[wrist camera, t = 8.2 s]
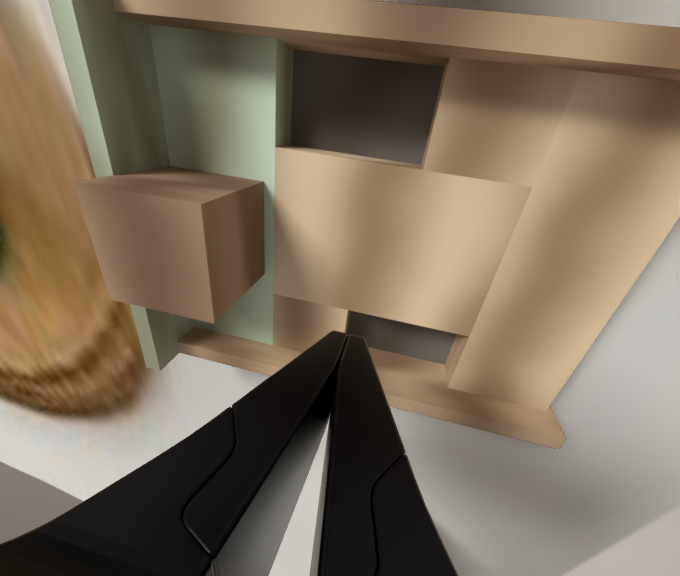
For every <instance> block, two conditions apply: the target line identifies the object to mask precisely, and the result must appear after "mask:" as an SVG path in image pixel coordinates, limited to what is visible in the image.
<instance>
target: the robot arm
mask: <svg viewBox="0 0 680 576" xmlns="http://www.w3.org/2000/svg"><path fill="white" fill-rule="evenodd" d="M329 417H330V420H329ZM328 421H329V427H328V434H327V442H326V450H325V457H324V465H323V473H322V481H321V489H320V497H319V505H318V513H317V521H316V528H315V536H314V544H313V552H312V560H311V568H310V576H458V574H457V572H456V570H455V568H454V566H453V564H452V562H451V559H450V557H449V555H448V553H447V551H446V549H445V547H444V545H443V543H442V540H441V538H440V536H439V534H438V532H437V529H436V527H435V525H434V523H433V520H432V518H431V516H430V514H429V512H428V509H427V507H426V505H425V502H424V500H423V497H422V495H421V492H420V489H419V487H418V484H417V482H416V479H415V477H414V474H413V471H412V468H411V465H410V463H409V460H408V457H407V455H405V449H404V446H403V444H402V441H401V438H400V435H399V432H398V430H397V427H396V424H395V421H394V418H393V416H392V413H391V410H390V407H389V404H388V402H387V399H386V396H385V393H384V390H383V388H382V385H381V382H380V379H379V376H378V373H377V371H376V368H375V365H374V362H373V359H372V357H371V354H370V351H369V348H368V345H367V343H366V340H365V338H364V337H361V336H357V335H353V334H350V335H349V336H348V334H347V333H344V332H340V331H335V330H333V331H331V332H329V333H328V334H327V335H325V336H324V337H323V338H321V339H320V340H319V341H317V342H316V343H315V344H313V345H312V346H311V347H309V348H308V349H307V350H305V351H304V352H303V353H301V354H300V355H299V356H297V357H296V358H295V359H293V360H292V361H291V362H289V363H288V364H287V365H285V366H284V367H282V368H281V369H280V370H278V371H277V372H276V373H274V374H273V375H272V376H270V377H269V378H268V379H266V380H265V381H264V382H262V383H261V384H260V385H258V386H257V387H256V388H254V389H253V390H252V391H250V392H249V393H248V394H246V395H245V396H244V397H242V398H241V399H240V400H238V401H237V402H236V403H234V404H233V405H232V408H231V407H229V408H227V409H226V410H225V411H223V412H222V413H221V414H219V415H218V416H217V417H215V418H214V419H212V420H211V421H210V422H208V423H207V424H205V425H204V426H203V427H201V428H200V429H198V430H197V431H195V432H194V433H193V434H191V435H190V436H188V437H187V438H185V439H184V440H182V441H181V442H179V443H177V444H176V445H174V446H173V447H171V448H170V449H168V450H167V451H165V452H163V453H162V454H160V455H159V456H157V457H156V458H154V459H152V460H151V461H149V462H147V463H146V464H144V465H142V466H141V467H139V468H138V469H136V470H134V471H133V472H131V473H129V474H128V475H126V476H125V477H123V478H121V479H120V480H118V481H116V482H115V483H113V484H112V485H110V486H108V487H107V488H105V489H103V490H102V491H100V492H98V493H97V494H95V495H94V496H92V497H90V498H89V499H87V500H85V501H84V502H82V503H81V504H79V505H77V506H76V507H74V508H72V509H71V510H69V511H67V512H66V513H64V514H62V515H60V516H59V517H57V518H55V519H54V520H52V521H50V522H48V523H46V524H44V525H42V526H40V527H38V528H36V529H34V530H32V531H30V532H28V533H25V534H23V535H21V536H19V537H17V538H14V539H12V540H9V541H7V542H4V543H2V544H0V576H268V575H269V573H270V570H271V568H272V565H273V562H274V560H275V557H276V555H277V552H278V550H279V547H280V544H281V542H282V539H283V537H284V534H285V532H286V529H287V527H288V524H289V521H290V519H291V516H292V514H293V511H294V509H295V506H296V503H297V501H298V498H299V496H300V493H301V491H302V488H303V485H304V483H305V480H306V478H307V475H308V473H309V470H310V468H311V465H312V462H313V460H314V457H315V455H316V452H317V450H318V447H319V444H320V442H321V439H322V437H323V434H324V432H325V429H326V426H327V423H328Z"/></svg>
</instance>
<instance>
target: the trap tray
mask: <svg viewBox="0 0 680 576" xmlns="http://www.w3.org/2000/svg"><path fill="white" fill-rule="evenodd" d="M48 1H49V4H50V8H51V12H52V16H53V19H54V23H55V27H56V30H57V34H58V38H59V42H60V45H61V49H62V53H63V57H64V60H65V64H66V68H67V71H68V75H69V79H70V83H71V86H72V90H73V94H74V98H75V101H76V105H77V109H78V113H79V116H80V120H81V124H82V127H83V131H84V135H85V139H86V142H87V146H88V150H89V154H90V157H91V161H92V165H93V169H94V172H95V176H96V178H99V177H105V176H111V175H118V174H124V173H130V172H136V171H143V170H149V169H155V168H161V167H168V166H173V167H179V168H185V169H191V170H197V171H204V172H210V173H216V174H222V175H228V176H234V177H240V178H246V179H253V180H259V181H264V245H265V274H264V275H263V276H262V277H261V278H260V279H259V280H258V281H257V282H256V283H255V284H254V285H253V286H252V287H251V288H250V289H249V290H248V291H247V292H246V293H245V294H244V295H243V296H242V297H241V298H240V299H239V300H238V301H237V302H236V303H235V304H234V305H233V306H232V307H231V308H230V309H229V310H228V311H227V312H226V313H225V314H224V315H223V316H222V317H221V318H220V319H219V320H218V321H217V322H216V323H215V324H214V323H209V322H205V321H201V320H197V319H192V318H188V317H184V316H179V315H175V314H171V313H166V312H162V311H158V310H154V309H149V308H145V307H141V306H136V305H132V304H130V307H131V310H132V314H133V318H134V322H135V325H136V329H137V333H138V336H139V340H140V344H141V348H142V351H143V355H144V359H145V363H146V366H147V368H151V369H155V370H159V371H161V370H162V369H163V368H164V367H165V366H166V365H167V364H168V363H169V362H170V361H171V360H172V359H173V358H174V357H175V356H176V355H177V354H178V353H183V354H187V355H191V356H195V357H199V358H203V359H207V360H211V361H214V362H218V363H222V364H226V365H230V366H234V367H238V368H242V369H246V370H250V371H254V372H258V373H261V374H265V375H269V376H272V375H273V374H274V373H276V372H277V371H278V370H280V369H281V368H282V367H284V366H285V365H287V364H288V363H289V362H291V361H292V360H293V359H295V358H296V357H297V356H299V355H300V354H301V353H303V352H304V351H305V350H307V349H308V348H309V347H311V346H312V345H313V344H315V343H316V342H317V341H319V340H320V339H321V338H323V337H324V336H325V335H327V334H328V333H329V332H331V331H333V330H335V331H340V332H344V333H347V334H348V336H349V335H350V334H353V335H357V336H361V337H364V338H365V340H366V343H367V345H368V348H369V351H370V354H371V357H372V359H373V362H374V365H375V368H376V371H377V373H378V376H379V379H380V382H381V385H382V388H383V390H384V393H385V396H386V399H387V402H388V404H389V406H391V407H395V408H399V409H403V410H406V411H410V412H414V413H418V414H422V415H426V416H430V417H434V418H438V419H442V420H446V421H450V422H453V423H457V424H461V425H465V426H469V427H473V428H477V429H481V430H485V431H489V432H493V433H497V434H500V435H504V436H508V437H512V438H516V439H520V440H524V441H528V442H532V443H536V444H540V445H544V446H547V447H551V448H555V449H560V447H561V446H562V445H563V444H564V442H565V441H566V440H567V438H566V436H565V434H564V432H563V430H562V428H561V426H560V424H559V422H558V420H557V418H556V416H555V414H554V412H553V410H552V408H551V406H550V405H551V403H552V402H553V400H554V399H555V397H556V396H557V394H558V393H559V391H560V390H561V389H562V387H563V386H564V384H565V383H566V381H567V380H568V378H569V377H570V375H571V374H572V373H573V371H574V370H575V368H576V367H577V365H578V364H579V362H580V361H581V360H582V358H583V357H584V355H585V354H586V352H587V351H588V349H589V348H590V346H591V345H592V344H593V342H594V341H595V339H596V338H597V336H598V335H599V333H600V332H601V330H602V329H603V328H604V326H605V325H606V323H607V322H608V320H609V319H610V317H611V316H612V314H613V313H614V312H615V310H616V309H617V307H618V306H619V304H620V303H621V301H622V300H623V299H624V297H625V296H626V294H627V293H628V291H629V290H630V288H631V287H632V285H633V284H634V283H635V281H636V280H637V278H638V277H639V275H640V274H641V272H642V271H643V269H644V268H645V267H646V265H647V264H648V262H649V261H650V259H651V258H652V256H653V255H654V254H655V252H656V251H657V249H658V248H659V246H660V245H661V243H662V242H663V240H664V239H665V238H666V236H667V235H668V233H669V232H670V230H671V229H672V227H673V226H674V224H675V223H676V222H677V220H678V219H679V217H680V28H678V27H666V26H655V25H644V24H632V23H621V22H609V21H598V20H586V19H575V18H564V17H552V16H541V15H529V14H518V13H506V12H495V11H484V10H472V9H461V8H449V7H438V6H426V5H415V4H404V3H392V2H381V1H369V0H48Z"/></svg>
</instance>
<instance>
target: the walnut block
mask: <svg viewBox="0 0 680 576" xmlns="http://www.w3.org/2000/svg"><path fill="white" fill-rule="evenodd" d="M74 185H75V188H76V191H77V194H78V197H79V201H80V204H81V207H82V210H83V214H84V217H85V220H86V223H87V226H88V230H89V233H90V236H91V239H92V243H93V246H94V249H95V252H96V255H97V259H98V262H99V265H100V268H101V272H102V275H103V278H104V281H105V285H106V288H107V291H108V294H109V297H110V299H111V300H115V301H119V302H124V303H128V304H132V305H136V306H141V307H145V308H149V309H154V310H158V311H162V312H166V313H171V314H175V315H179V316H184V317H188V318H192V319H197V320H201V321H205V322H209V323H214V324H215V323H216V322H217V321H218V320H219V319H220V318H221V317H222V316H223V315H224V314H225V313H226V312H227V311H228V310H229V309H230V308H231V307H232V306H233V305H234V304H235V303H236V302H237V301H238V300H239V299H240V298H241V297H242V296H243V295H244V294H245V293H246V292H247V291H248V290H249V289H250V288H251V287H252V286H253V285H254V284H255V283H256V282H257V281H258V280H259V279H260V278H261V277H262V276H263V275H264V274H265V245H264V181H259V180H253V179H246V178H240V177H234V176H228V175H222V174H216V173H210V172H204V171H197V170H191V169H185V168H179V167H173V166H168V167H161V168H155V169H149V170H143V171H136V172H130V173H124V174H118V175H111V176H105V177H99V178H93V179H86V180H80V181H74Z"/></svg>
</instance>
